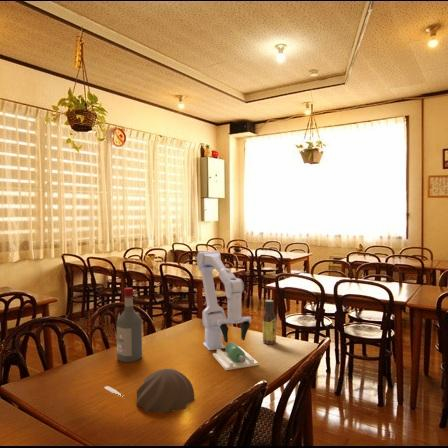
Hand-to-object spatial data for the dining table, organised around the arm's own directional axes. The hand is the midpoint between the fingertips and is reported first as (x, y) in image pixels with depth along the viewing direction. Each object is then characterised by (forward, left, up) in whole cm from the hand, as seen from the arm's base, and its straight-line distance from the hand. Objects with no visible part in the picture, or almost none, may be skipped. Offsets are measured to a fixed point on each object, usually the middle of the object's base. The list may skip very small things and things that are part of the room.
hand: (234, 340), depth 161 cm
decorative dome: (+22, -33, -9) cm, 41 cm away
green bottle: (+2, 0, -7) cm, 8 cm away
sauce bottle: (-14, +23, -9) cm, 28 cm away
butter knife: (+18, -45, -9) cm, 49 cm away
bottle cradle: (0, 0, -8) cm, 8 cm away
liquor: (-18, -41, -9) cm, 46 cm away
